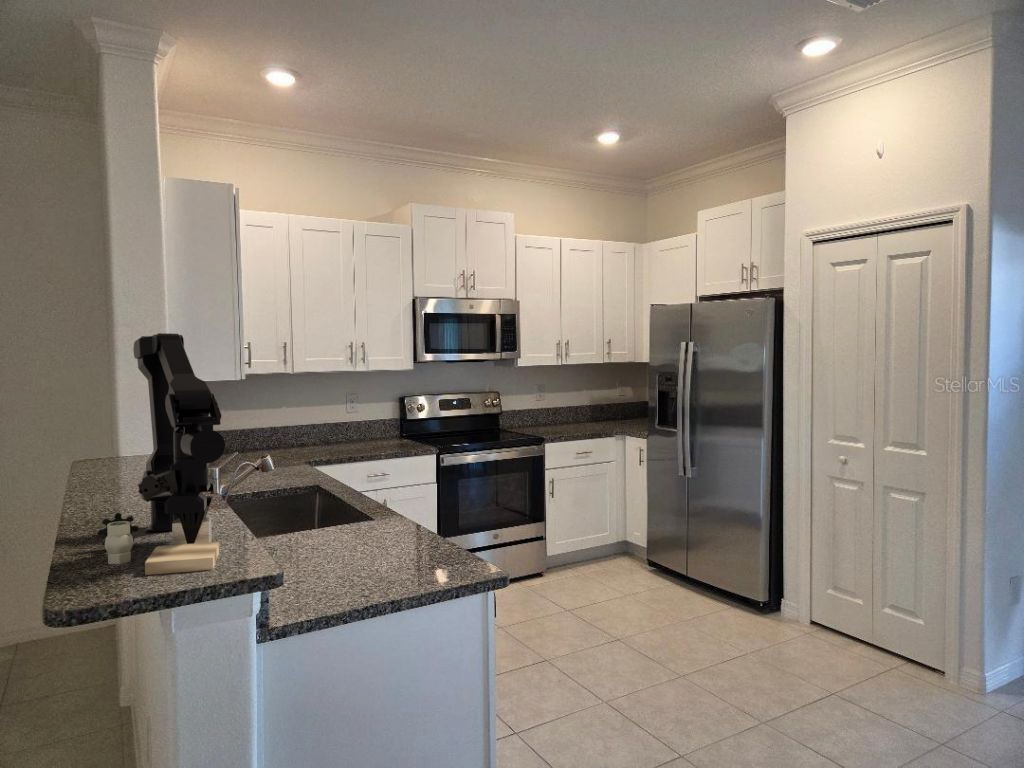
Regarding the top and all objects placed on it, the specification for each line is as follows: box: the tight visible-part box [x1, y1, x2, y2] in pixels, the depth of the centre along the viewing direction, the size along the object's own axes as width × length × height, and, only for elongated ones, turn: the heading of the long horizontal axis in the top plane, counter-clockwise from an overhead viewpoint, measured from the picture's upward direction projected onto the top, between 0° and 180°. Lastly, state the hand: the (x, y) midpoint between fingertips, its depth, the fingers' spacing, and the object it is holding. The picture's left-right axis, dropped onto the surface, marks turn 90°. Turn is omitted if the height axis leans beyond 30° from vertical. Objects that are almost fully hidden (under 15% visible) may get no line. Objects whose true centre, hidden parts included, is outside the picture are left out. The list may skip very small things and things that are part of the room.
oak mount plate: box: [144, 541, 220, 576], centre depth 117 cm, size 10×10×2 cm
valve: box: [96, 511, 140, 565], centre depth 121 cm, size 7×7×12 cm
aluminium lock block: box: [171, 515, 213, 545], centre depth 126 cm, size 4×6×5 cm, turn 107°
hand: (192, 541), depth 126 cm, fingers closed on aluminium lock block, 4 cm apart
